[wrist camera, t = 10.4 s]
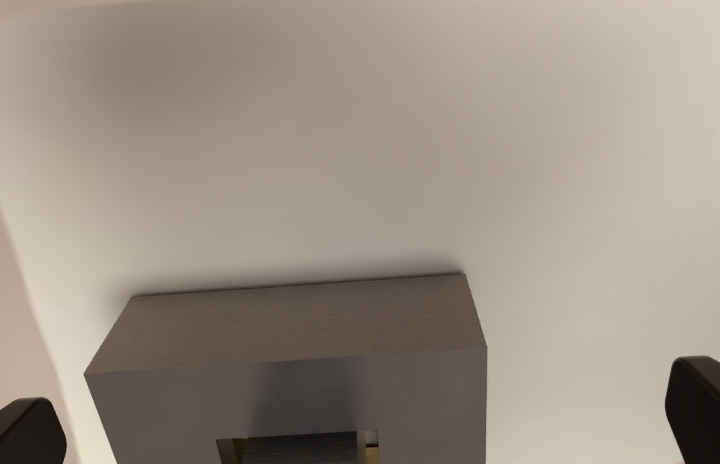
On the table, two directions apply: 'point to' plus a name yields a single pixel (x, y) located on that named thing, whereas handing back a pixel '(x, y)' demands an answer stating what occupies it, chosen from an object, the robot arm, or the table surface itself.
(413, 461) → the slotted bridge-shaped block
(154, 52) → the table surface
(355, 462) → the tall square pillar
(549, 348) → the table surface
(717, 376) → the robot arm
